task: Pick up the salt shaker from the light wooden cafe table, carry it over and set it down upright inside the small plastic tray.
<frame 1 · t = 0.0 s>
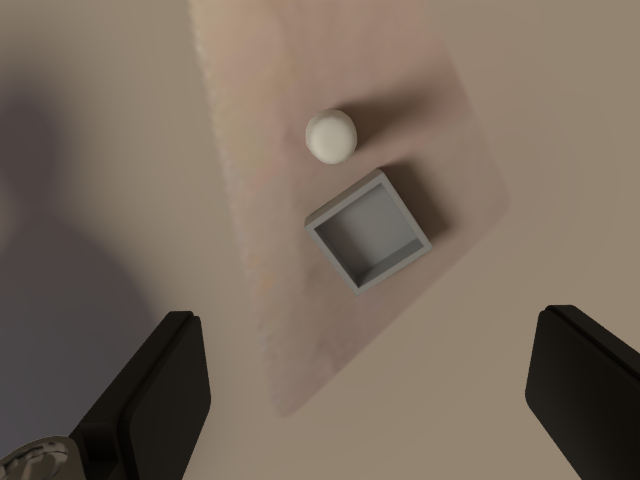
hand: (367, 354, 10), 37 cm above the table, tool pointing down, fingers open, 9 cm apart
tray: (365, 227, 48), on the table
salt shaker: (330, 135, 44), on the table
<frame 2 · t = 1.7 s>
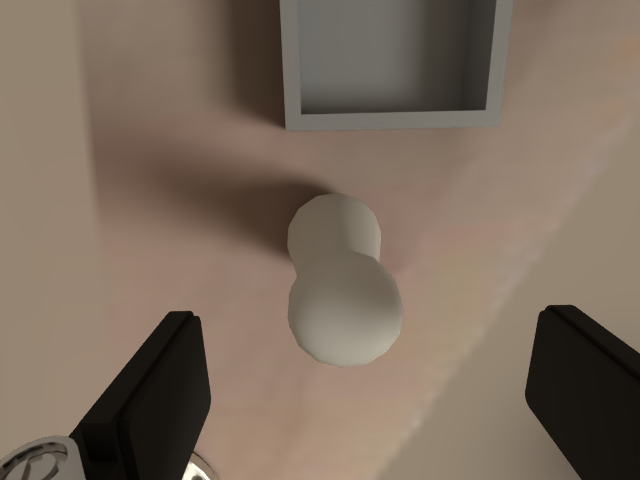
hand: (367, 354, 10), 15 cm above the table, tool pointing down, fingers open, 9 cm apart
tray: (380, 31, 22), on the table
salt shaker: (332, 229, 25), on the table
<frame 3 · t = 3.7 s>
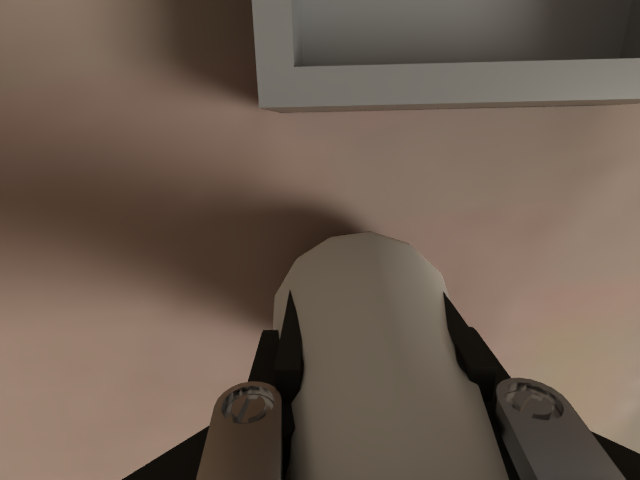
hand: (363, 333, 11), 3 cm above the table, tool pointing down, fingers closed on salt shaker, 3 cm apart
salt shaker: (354, 285, 14), on the table, touching gripper
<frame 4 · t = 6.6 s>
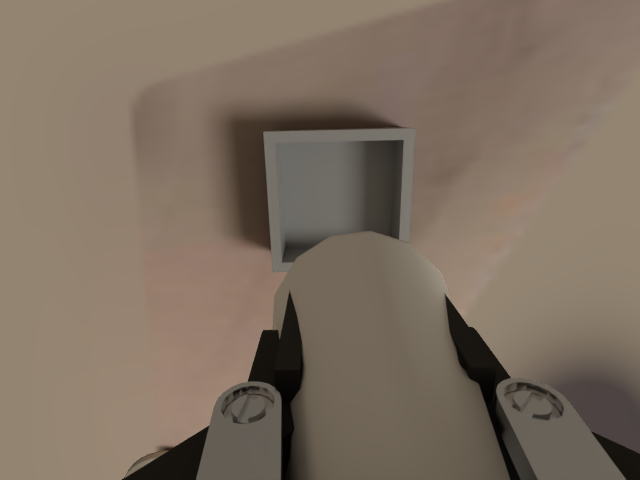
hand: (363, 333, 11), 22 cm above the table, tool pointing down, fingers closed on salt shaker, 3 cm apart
tray: (337, 193, 33), on the table
salt shaker: (354, 285, 14), point 19 cm above the table, touching gripper
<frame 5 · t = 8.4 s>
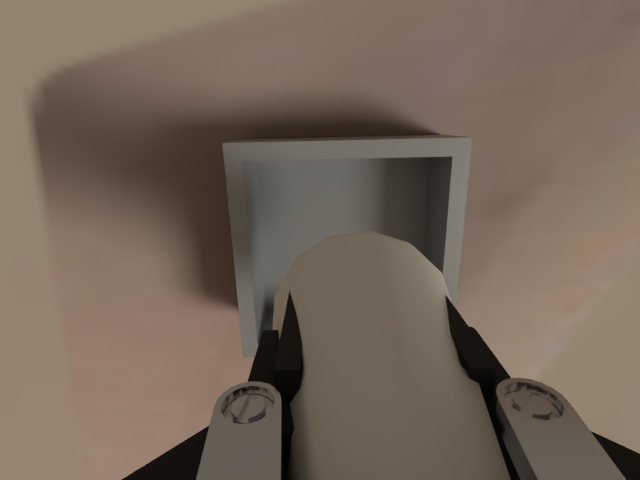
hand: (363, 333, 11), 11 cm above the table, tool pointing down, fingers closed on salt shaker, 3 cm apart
tray: (342, 231, 22), on the table
salt shaker: (354, 284, 14), point 8 cm above the table, touching gripper
when the fingers open (6 cm above the table, at t = 9.8 s): salt shaker drops 1 cm, resting on tray.
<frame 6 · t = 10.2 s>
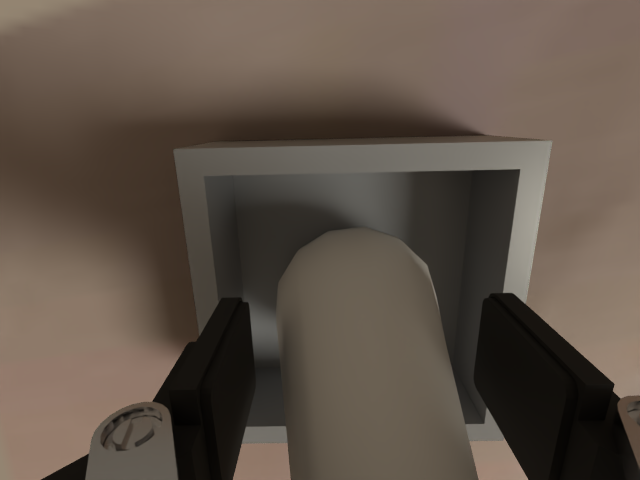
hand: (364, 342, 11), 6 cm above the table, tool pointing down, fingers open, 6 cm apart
tray: (350, 264, 17), on the table
salt shaker: (350, 275, 16), point 1 cm above the table, touching tray
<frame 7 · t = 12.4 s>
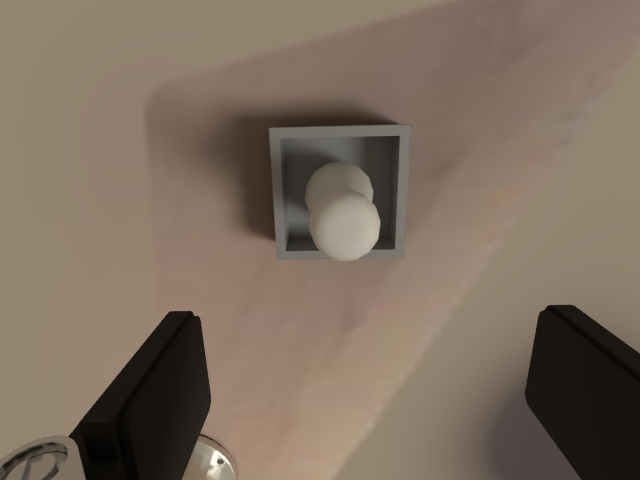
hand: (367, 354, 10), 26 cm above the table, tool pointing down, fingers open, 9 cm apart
tray: (338, 186, 34), on the table
salt shaker: (337, 190, 34), point 1 cm above the table, touching tray
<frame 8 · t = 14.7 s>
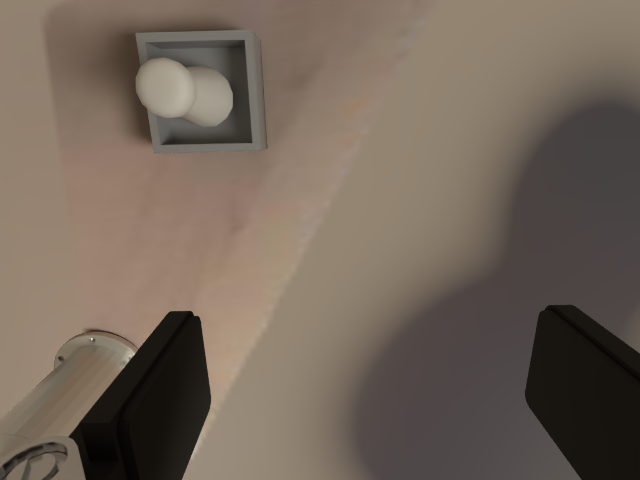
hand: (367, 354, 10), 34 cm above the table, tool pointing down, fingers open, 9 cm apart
tray: (213, 97, 40), on the table
salt shaker: (211, 98, 40), point 1 cm above the table, touching tray
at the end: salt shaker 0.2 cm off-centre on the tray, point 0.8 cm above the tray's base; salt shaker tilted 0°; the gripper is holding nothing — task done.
